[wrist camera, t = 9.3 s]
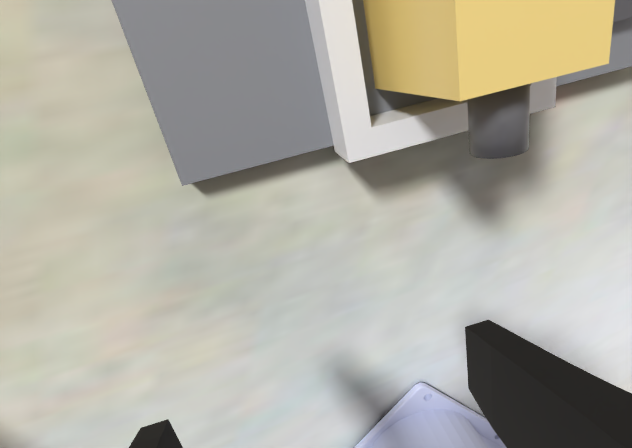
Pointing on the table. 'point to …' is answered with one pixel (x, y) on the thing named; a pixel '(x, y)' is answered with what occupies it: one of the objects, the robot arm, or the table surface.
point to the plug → (485, 56)
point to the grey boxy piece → (289, 82)
